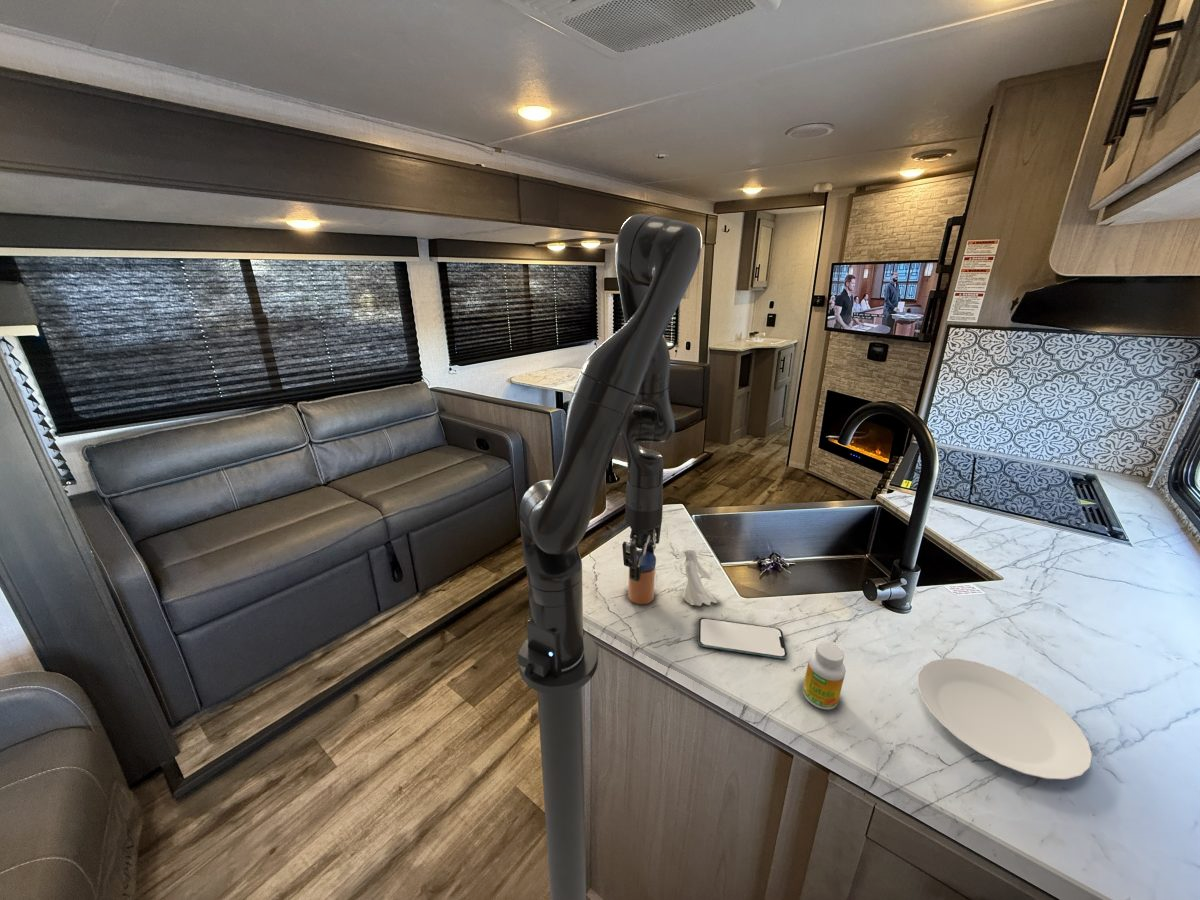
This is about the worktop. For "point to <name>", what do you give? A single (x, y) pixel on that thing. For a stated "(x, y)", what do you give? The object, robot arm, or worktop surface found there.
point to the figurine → (695, 581)
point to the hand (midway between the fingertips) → (641, 571)
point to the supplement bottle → (824, 676)
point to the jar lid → (647, 561)
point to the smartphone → (742, 638)
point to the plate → (1004, 719)
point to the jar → (642, 587)
